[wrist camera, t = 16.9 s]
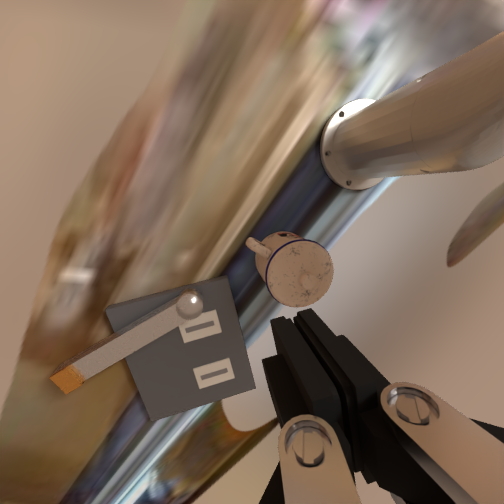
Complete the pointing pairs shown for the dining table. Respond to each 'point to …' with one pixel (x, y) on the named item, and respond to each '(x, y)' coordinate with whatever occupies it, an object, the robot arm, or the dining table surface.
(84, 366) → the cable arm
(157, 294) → the tray
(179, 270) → the dining table surface
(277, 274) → the teacup with lid
